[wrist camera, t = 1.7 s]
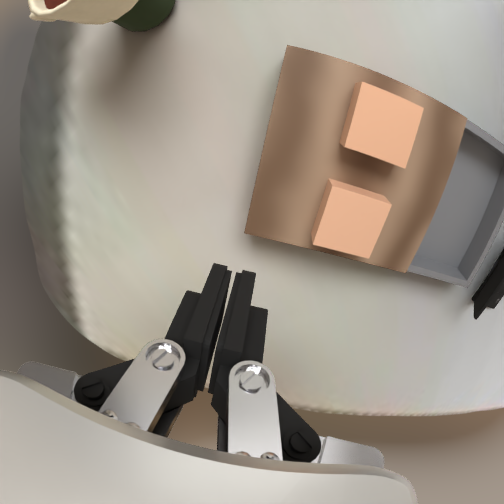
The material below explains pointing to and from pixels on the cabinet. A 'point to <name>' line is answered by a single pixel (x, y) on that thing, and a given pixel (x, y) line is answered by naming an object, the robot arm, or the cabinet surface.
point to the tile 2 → (381, 124)
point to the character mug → (104, 12)
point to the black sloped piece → (490, 288)
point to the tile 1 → (349, 219)
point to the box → (465, 212)
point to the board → (346, 159)
